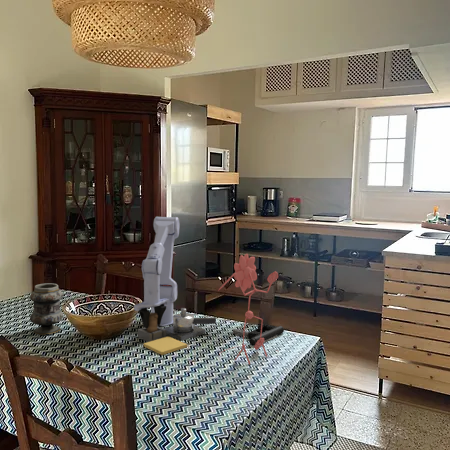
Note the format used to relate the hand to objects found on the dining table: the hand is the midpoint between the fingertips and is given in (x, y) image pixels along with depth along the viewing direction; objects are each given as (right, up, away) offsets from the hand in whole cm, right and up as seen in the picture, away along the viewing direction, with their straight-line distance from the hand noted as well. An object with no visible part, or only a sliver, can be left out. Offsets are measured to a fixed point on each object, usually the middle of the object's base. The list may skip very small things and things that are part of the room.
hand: (151, 325), depth 169 cm
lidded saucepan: (+16, -2, +6) cm, 17 cm away
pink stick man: (+34, -7, -15) cm, 38 cm away
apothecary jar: (-42, -4, +6) cm, 42 cm away
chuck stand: (+11, -4, +6) cm, 13 cm away
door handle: (+39, -5, +4) cm, 40 cm away
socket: (0, -4, 0) cm, 4 cm away
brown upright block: (0, -4, 0) cm, 4 cm away
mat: (+6, -5, -9) cm, 12 cm away
